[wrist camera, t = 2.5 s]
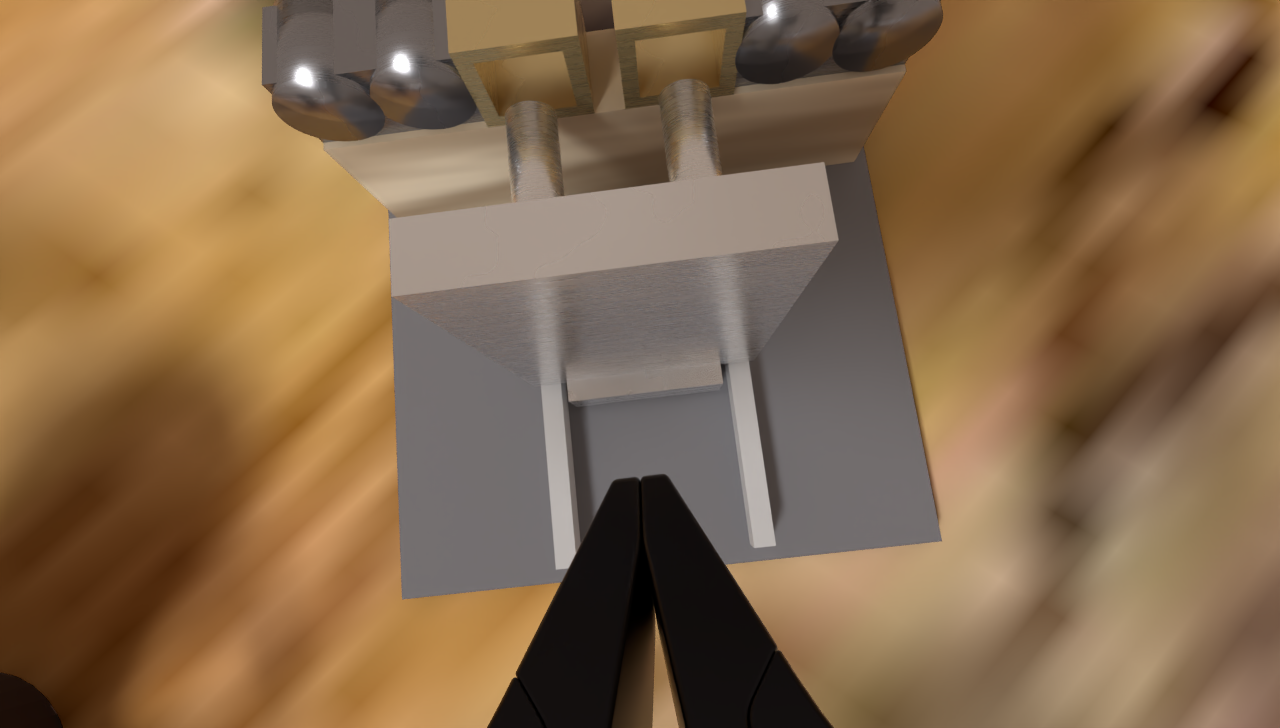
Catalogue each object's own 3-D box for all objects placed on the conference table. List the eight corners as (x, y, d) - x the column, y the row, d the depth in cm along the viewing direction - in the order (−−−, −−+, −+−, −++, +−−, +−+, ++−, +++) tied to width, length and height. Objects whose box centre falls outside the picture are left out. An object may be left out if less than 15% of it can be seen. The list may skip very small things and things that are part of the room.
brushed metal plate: (752, 386, 18) (846, 281, 8) (544, 410, 18) (393, 337, 8) (724, 197, 19) (777, -93, 9) (529, 222, 20) (379, -36, 10)
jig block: (854, 162, 20) (906, 71, 15) (400, 221, 20) (323, 149, 16) (841, 96, 20) (888, -11, 16) (397, 155, 21) (322, 69, 16)
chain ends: (914, 70, 15) (967, -20, 12) (315, 150, 16) (240, 82, 13) (896, -12, 16) (943, -115, 13) (315, 70, 16) (241, -13, 13)
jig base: (933, 539, 18) (957, 545, 16) (410, 595, 19) (386, 606, 17) (845, 92, 21) (860, 61, 19) (393, 153, 21) (371, 127, 20)
